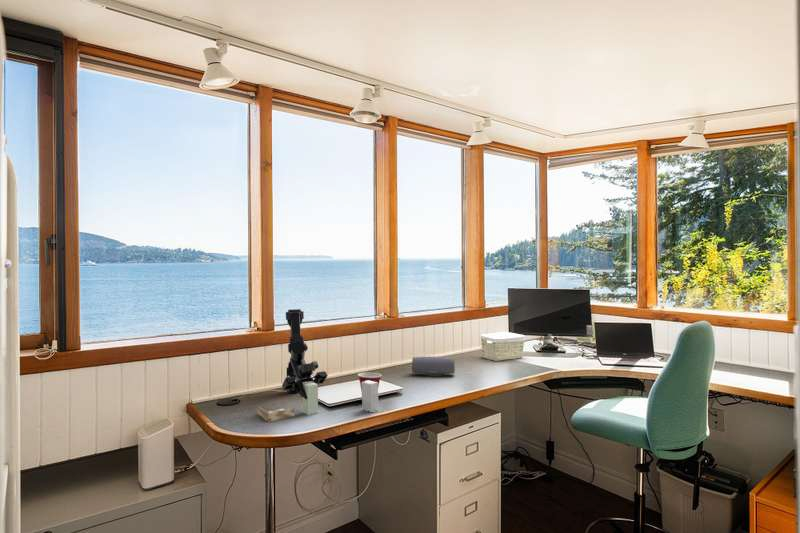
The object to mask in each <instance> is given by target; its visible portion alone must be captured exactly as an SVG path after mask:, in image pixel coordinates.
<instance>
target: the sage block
mask: <svg viewBox="0 0 800 533" xmlns="http://www.w3.org/2000/svg"><path fill="white" fill-rule="evenodd" d="M303 388H304V390H305V392H306V395H307V399H305V398H303V397H302V412H303V414H305V415H307V416H311V414H312V415H316V414H318V413H319V397H318V396H319V384H316V383H314V382H305V383H303ZM315 413H316V414H315Z"/></svg>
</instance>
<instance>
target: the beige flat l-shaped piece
mask: <svg viewBox="0 0 800 533" xmlns="http://www.w3.org/2000/svg"><path fill="white" fill-rule="evenodd" d="M257 415H258V416H259V417H261V418H263V419H264V420H265V421H267V422H273V421H278V420H282V419H287V418H291V417H295V408H294V407H292V408H287V409H285V408H280V409H275V410H270V411H268V410H266V409H264V407H263V408H262V406H258V407H257Z"/></svg>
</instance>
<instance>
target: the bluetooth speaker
mask: <svg viewBox="0 0 800 533" xmlns="http://www.w3.org/2000/svg"><path fill="white" fill-rule="evenodd" d="M411 362H412V365H411V371H412V372H411V373H414V374H421V375H424V376H427V375H428V376H429V377H430V376H432V377H434V376H437V377H443V376H444V375H445V374H446V375H450V374H455V368H456V367H455V357H451V356H414V357H412V361H411Z"/></svg>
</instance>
